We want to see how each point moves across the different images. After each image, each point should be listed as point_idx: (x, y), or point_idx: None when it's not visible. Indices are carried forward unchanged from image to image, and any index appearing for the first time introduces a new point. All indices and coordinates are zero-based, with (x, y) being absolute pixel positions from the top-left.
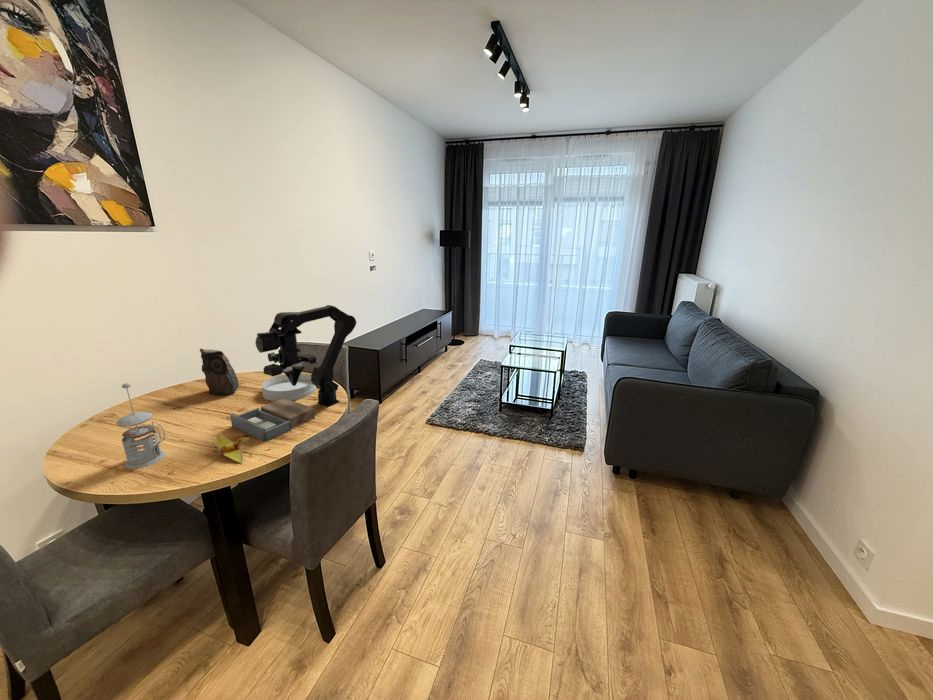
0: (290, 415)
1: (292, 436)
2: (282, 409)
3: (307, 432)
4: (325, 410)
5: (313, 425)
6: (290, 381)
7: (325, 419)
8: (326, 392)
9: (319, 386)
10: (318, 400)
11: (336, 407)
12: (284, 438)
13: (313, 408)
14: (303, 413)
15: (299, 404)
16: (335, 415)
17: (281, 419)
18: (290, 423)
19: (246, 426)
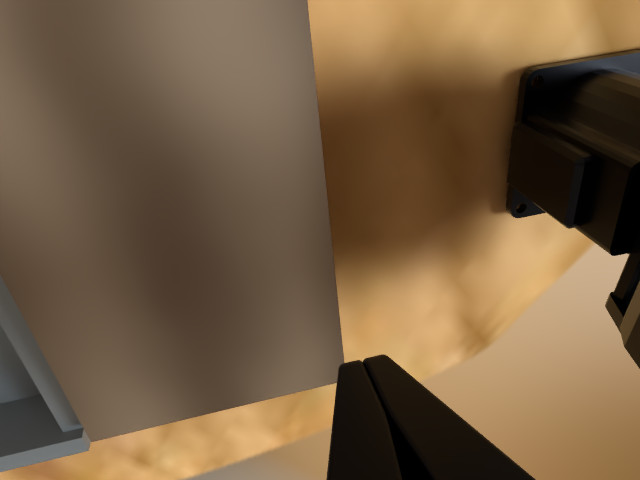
0: (118, 395)
1: (76, 456)
2: (95, 219)
3: (179, 456)
4: (455, 254)
5: (254, 403)
6: (331, 463)
7: None
8: (629, 253)
9: (629, 346)
10: (533, 139)
11: (535, 261)
12: None
13: None
14: (235, 402)
15: (309, 220)
16: (435, 362)
17: (33, 358)
18: None
19: None
